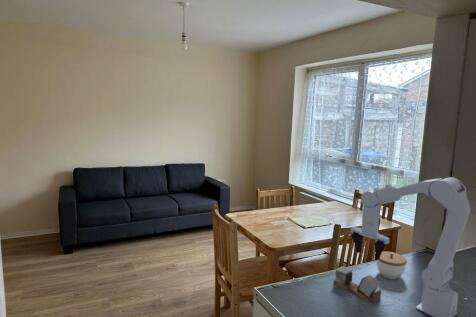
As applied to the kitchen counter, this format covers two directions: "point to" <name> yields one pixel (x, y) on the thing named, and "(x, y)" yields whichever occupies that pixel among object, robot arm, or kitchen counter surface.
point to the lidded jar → (391, 264)
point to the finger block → (368, 285)
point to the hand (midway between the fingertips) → (367, 255)
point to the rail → (353, 284)
